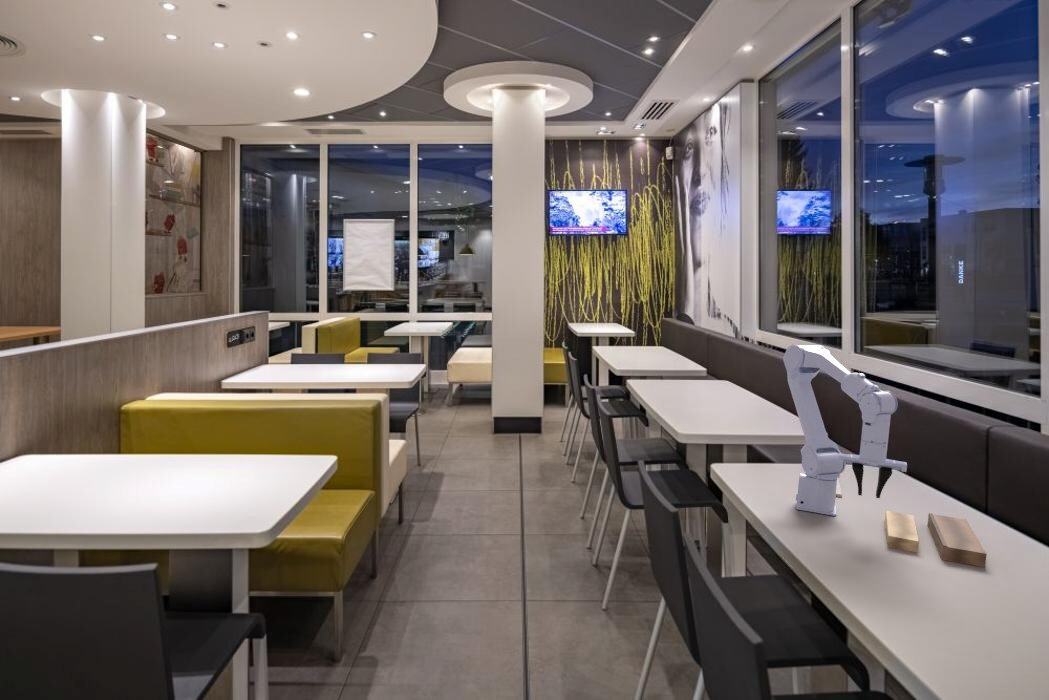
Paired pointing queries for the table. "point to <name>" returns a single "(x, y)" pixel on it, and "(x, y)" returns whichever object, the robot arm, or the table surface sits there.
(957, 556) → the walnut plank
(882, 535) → the table surface
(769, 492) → the table surface
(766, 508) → the table surface
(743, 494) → the table surface
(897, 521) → the oak plank
